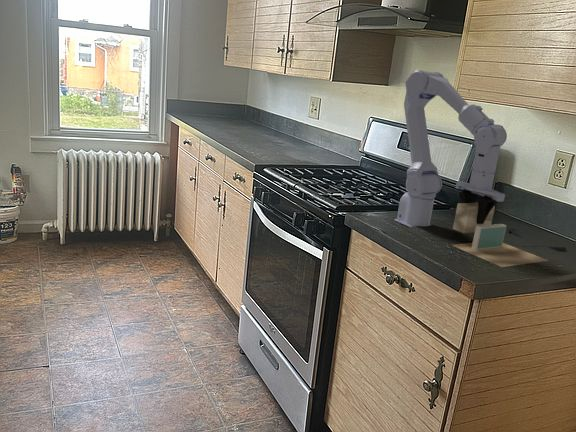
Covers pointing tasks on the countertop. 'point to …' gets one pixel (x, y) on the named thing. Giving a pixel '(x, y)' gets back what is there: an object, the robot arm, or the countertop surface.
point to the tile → (488, 236)
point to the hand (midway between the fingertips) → (473, 221)
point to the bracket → (557, 248)
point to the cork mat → (502, 255)
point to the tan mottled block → (469, 217)
